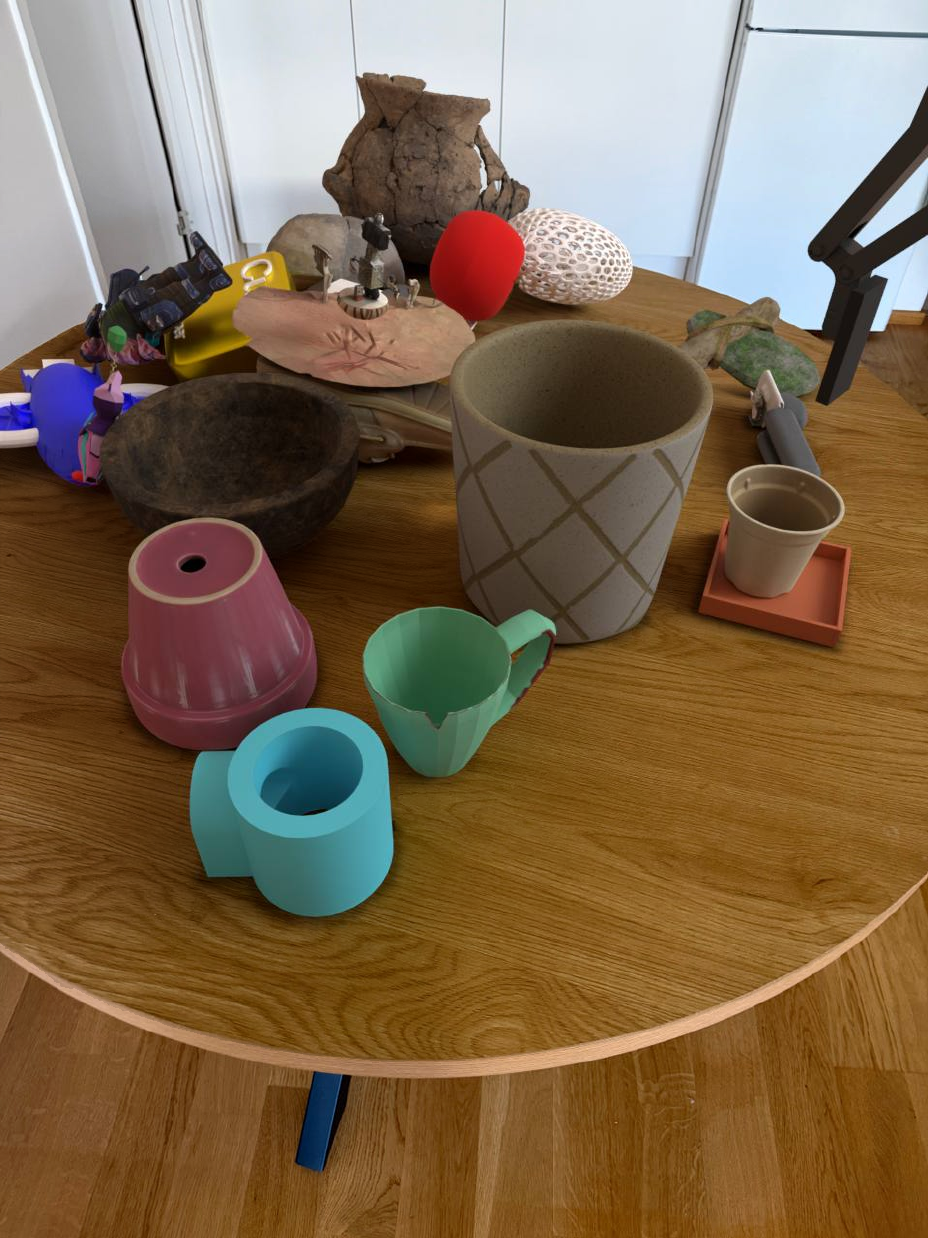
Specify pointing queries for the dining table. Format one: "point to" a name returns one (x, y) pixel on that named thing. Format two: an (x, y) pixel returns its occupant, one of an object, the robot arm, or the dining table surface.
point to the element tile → (223, 323)
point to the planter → (572, 469)
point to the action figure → (152, 305)
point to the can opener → (781, 427)
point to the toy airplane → (58, 412)
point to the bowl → (235, 457)
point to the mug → (450, 680)
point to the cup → (298, 811)
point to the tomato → (476, 264)
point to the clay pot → (419, 164)
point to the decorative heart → (570, 258)
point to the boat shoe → (388, 413)
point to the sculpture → (356, 325)
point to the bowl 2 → (329, 246)
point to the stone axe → (750, 348)
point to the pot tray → (786, 596)
